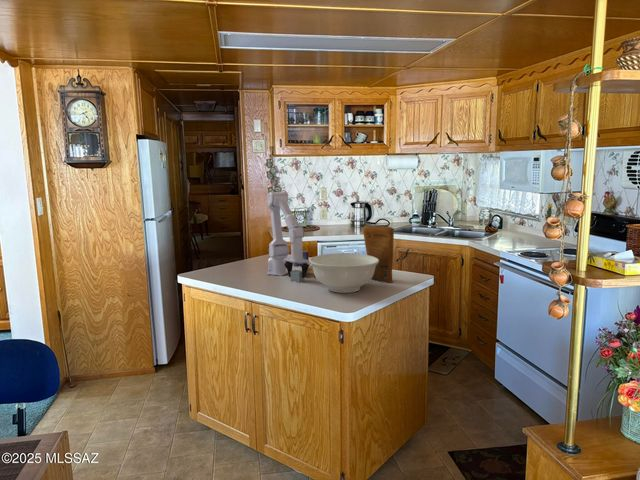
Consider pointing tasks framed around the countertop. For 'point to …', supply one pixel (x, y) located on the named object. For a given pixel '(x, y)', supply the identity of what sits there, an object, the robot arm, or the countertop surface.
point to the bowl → (344, 271)
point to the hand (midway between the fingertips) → (297, 277)
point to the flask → (305, 256)
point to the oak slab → (310, 270)
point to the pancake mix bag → (380, 250)
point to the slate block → (296, 275)
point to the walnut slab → (310, 275)
